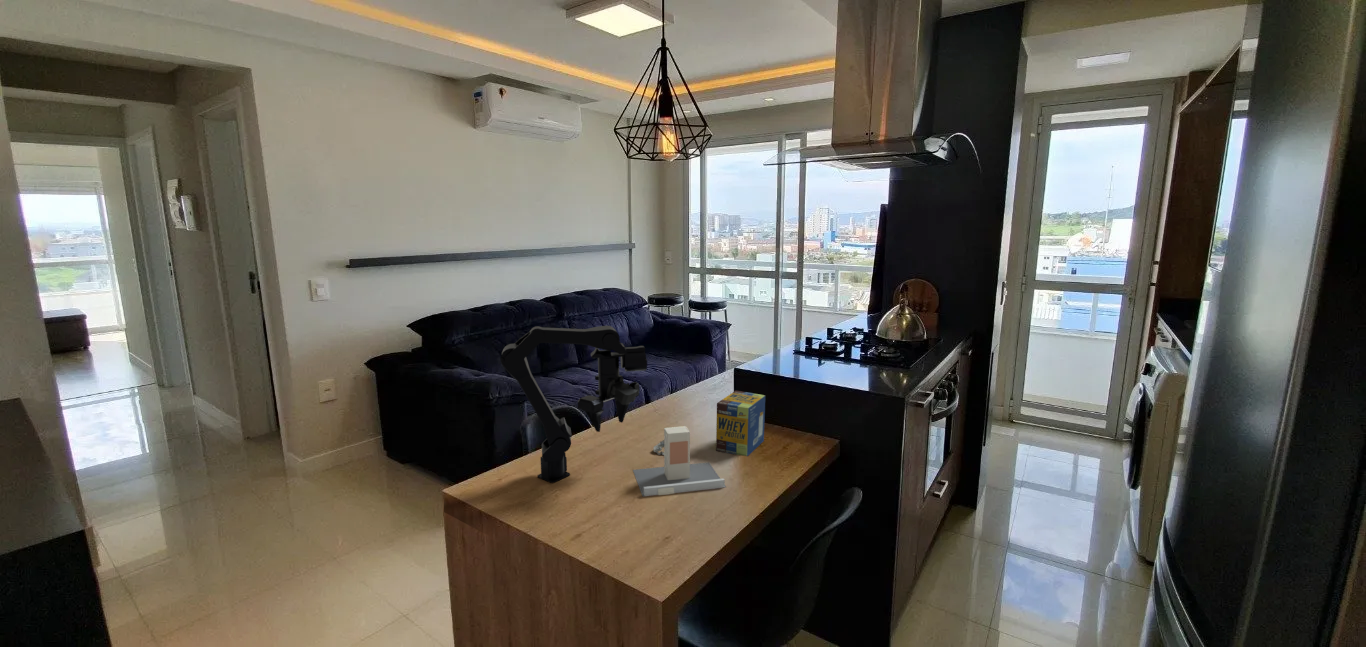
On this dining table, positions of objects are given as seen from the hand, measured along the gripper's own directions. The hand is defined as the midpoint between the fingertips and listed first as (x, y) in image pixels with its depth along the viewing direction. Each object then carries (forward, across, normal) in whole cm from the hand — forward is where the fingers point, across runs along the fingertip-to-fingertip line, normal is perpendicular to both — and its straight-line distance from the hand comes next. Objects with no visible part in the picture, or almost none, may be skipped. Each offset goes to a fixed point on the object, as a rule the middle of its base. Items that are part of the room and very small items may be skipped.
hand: (609, 426), depth 157 cm
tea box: (+12, +6, -19) cm, 23 cm away
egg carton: (+14, +20, -6) cm, 25 cm away
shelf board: (+13, +5, -20) cm, 24 cm away
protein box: (+13, +38, -20) cm, 45 cm away
